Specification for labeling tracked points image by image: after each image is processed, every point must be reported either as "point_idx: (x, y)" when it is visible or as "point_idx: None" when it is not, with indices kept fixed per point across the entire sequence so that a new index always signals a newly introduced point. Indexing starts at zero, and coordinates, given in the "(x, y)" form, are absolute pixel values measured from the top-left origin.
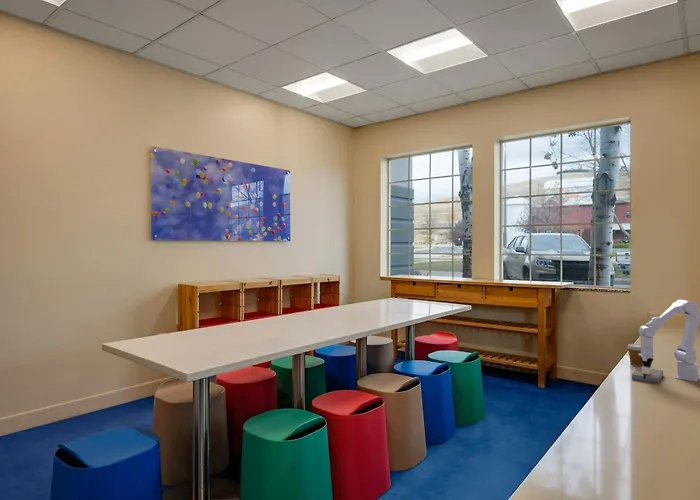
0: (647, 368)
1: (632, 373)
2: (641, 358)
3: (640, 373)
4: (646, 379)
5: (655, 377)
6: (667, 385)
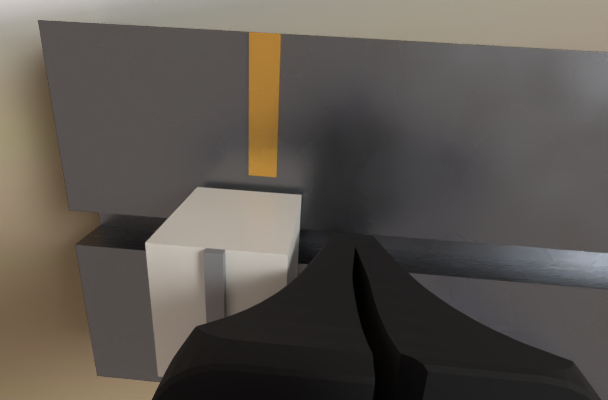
0: (158, 335)
1: (105, 24)
2: (236, 396)
3: (214, 157)
4: (104, 230)
5: (122, 353)
6: (144, 397)
